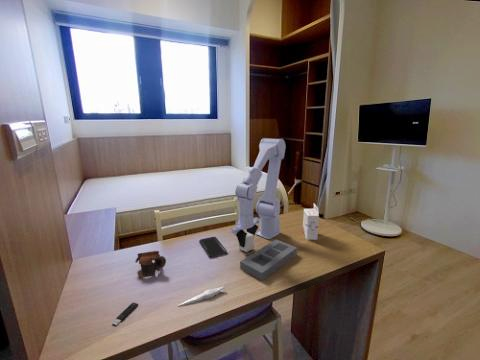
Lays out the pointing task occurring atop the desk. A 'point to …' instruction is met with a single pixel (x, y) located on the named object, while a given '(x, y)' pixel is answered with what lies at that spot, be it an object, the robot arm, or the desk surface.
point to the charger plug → (248, 242)
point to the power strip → (268, 259)
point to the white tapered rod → (204, 295)
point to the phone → (212, 247)
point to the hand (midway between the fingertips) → (246, 244)
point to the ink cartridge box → (311, 223)
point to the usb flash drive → (125, 313)
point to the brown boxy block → (150, 263)
